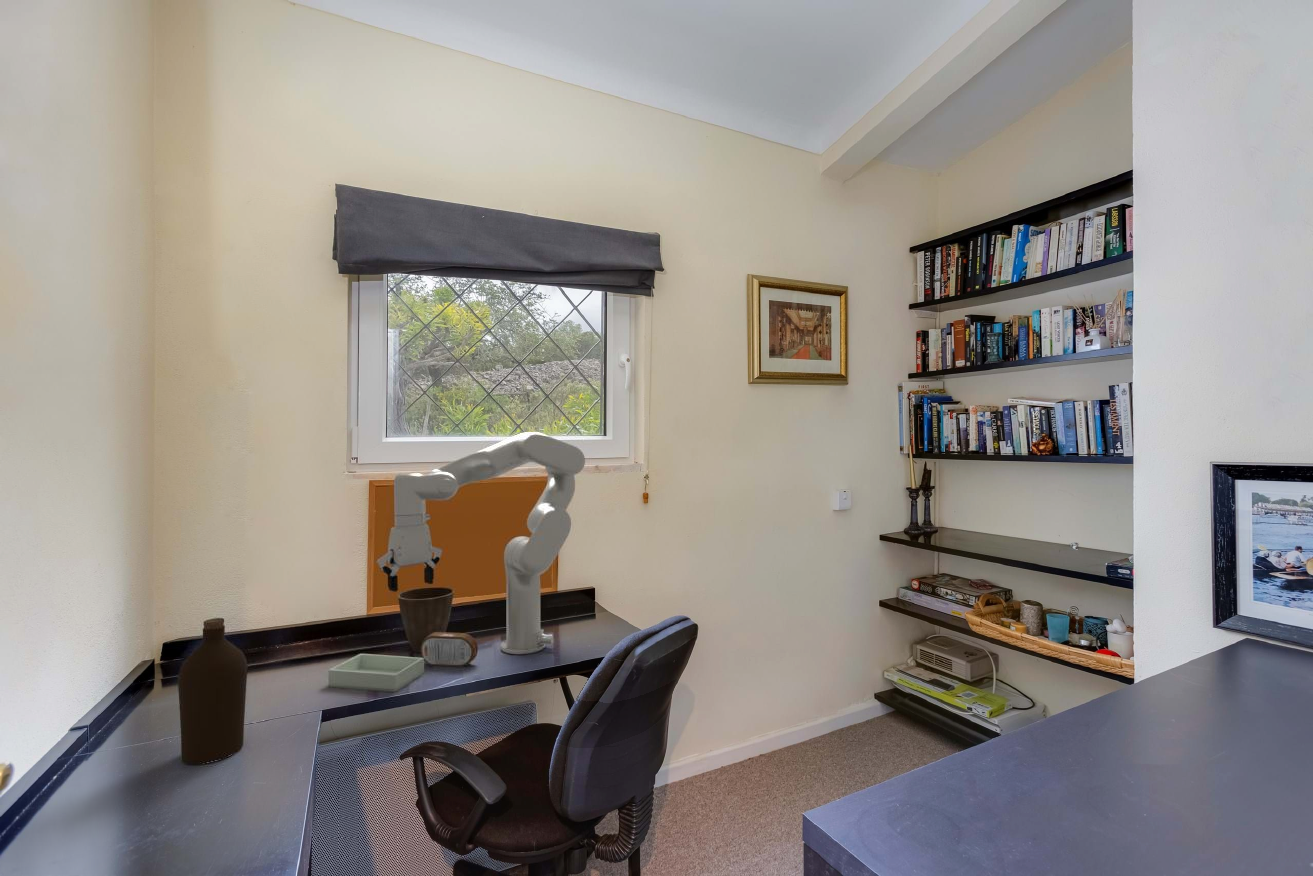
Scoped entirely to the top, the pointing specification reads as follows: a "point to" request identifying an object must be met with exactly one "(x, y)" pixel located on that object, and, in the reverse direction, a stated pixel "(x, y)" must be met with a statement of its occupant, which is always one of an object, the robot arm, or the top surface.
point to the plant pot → (425, 612)
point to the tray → (376, 672)
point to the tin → (448, 649)
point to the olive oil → (212, 697)
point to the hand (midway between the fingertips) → (411, 586)
